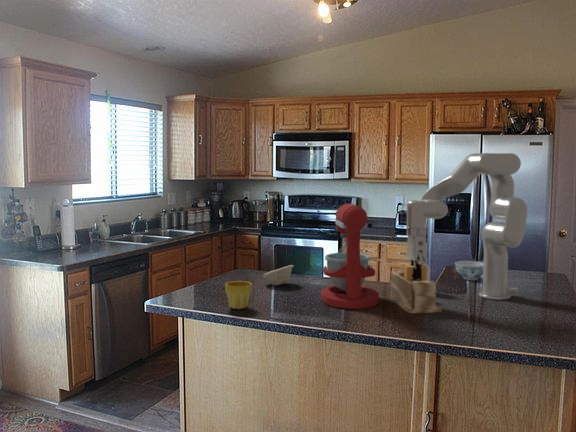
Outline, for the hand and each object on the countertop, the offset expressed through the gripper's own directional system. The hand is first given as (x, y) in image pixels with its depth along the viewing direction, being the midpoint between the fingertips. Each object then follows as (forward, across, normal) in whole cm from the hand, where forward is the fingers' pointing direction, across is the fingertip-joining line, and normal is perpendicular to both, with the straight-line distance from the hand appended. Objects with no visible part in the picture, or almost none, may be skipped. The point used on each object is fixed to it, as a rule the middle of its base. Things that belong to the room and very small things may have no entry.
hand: (415, 277), depth 207 cm
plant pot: (+12, +4, +70) cm, 71 cm away
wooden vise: (+11, 0, 0) cm, 11 cm away
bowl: (+11, +43, +51) cm, 68 cm away
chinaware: (+11, +44, -44) cm, 63 cm away
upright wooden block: (+6, 0, 0) cm, 6 cm away
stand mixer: (+11, +11, +24) cm, 29 cm away
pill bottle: (+11, +21, -10) cm, 26 cm away
